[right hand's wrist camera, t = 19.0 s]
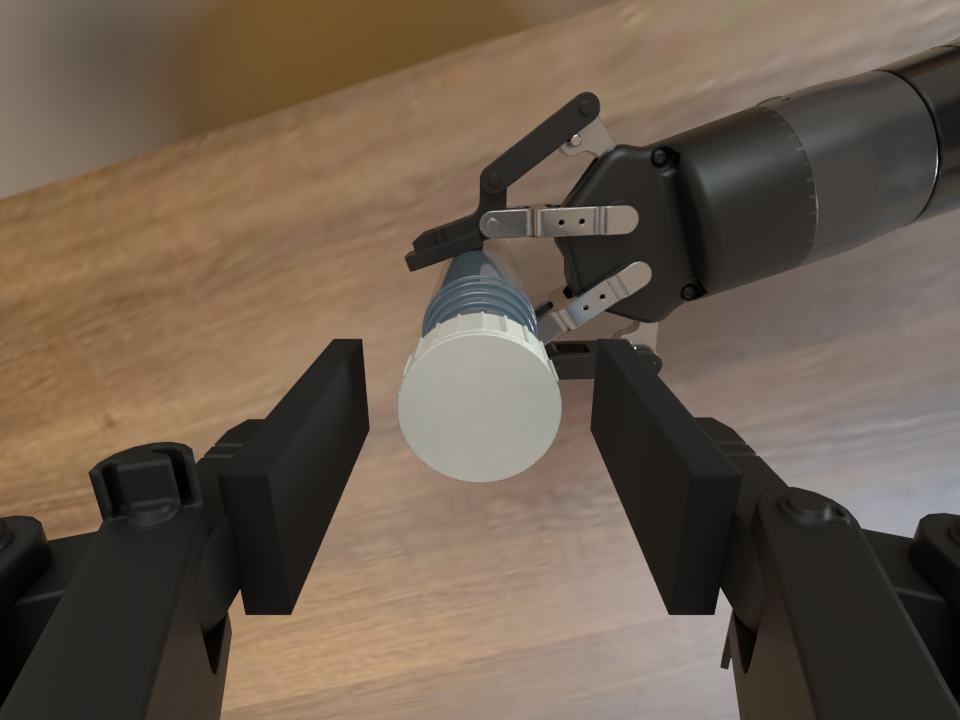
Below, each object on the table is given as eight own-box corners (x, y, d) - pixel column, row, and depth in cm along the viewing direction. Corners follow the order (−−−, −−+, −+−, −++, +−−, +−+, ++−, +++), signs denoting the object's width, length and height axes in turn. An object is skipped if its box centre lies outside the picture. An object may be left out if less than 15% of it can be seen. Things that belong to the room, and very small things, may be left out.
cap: (555, 306, 14) (566, 328, 12) (553, 445, 15) (563, 482, 13) (398, 313, 14) (387, 334, 12) (412, 450, 15) (403, 487, 13)
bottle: (454, 223, 31) (416, 303, 12) (522, 240, 31) (583, 343, 13) (439, 290, 32) (384, 451, 14) (504, 306, 33) (534, 484, 14)
